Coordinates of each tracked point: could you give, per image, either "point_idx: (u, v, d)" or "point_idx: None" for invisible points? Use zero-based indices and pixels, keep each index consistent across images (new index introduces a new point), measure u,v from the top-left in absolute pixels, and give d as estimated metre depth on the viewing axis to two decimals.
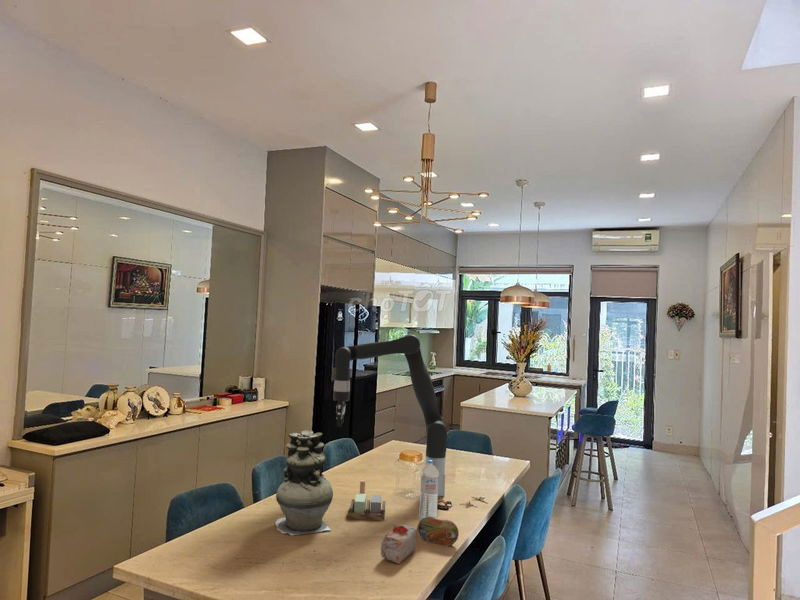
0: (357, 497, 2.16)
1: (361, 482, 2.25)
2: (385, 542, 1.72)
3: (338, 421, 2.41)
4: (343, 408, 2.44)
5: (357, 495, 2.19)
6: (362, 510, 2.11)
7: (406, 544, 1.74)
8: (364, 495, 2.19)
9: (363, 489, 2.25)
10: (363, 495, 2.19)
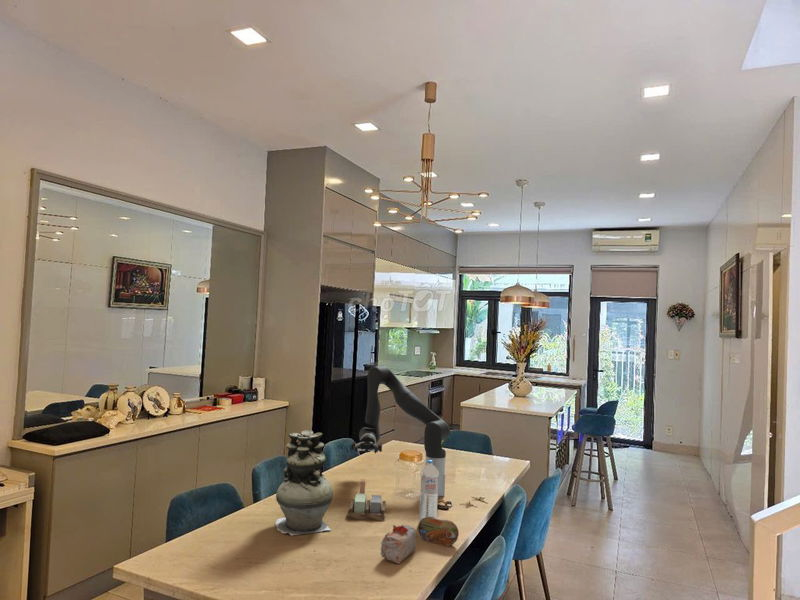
0: (357, 497, 2.16)
1: (361, 482, 2.25)
2: (385, 542, 1.72)
3: None
4: (361, 442, 2.46)
5: (357, 495, 2.19)
6: (362, 510, 2.11)
7: (406, 544, 1.74)
8: (364, 495, 2.19)
9: (363, 489, 2.25)
10: (363, 495, 2.19)
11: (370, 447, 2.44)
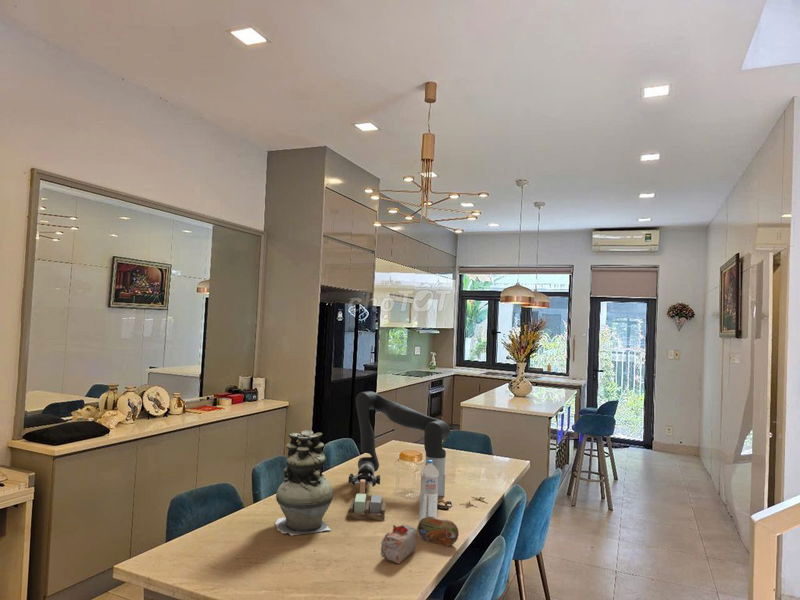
0: (357, 497, 2.16)
1: (361, 482, 2.25)
2: (385, 542, 1.72)
3: (352, 481, 2.36)
4: (359, 474, 2.42)
5: (357, 495, 2.19)
6: (362, 510, 2.11)
7: (406, 544, 1.74)
8: (364, 495, 2.19)
9: (363, 489, 2.25)
10: (363, 495, 2.19)
11: (368, 479, 2.40)
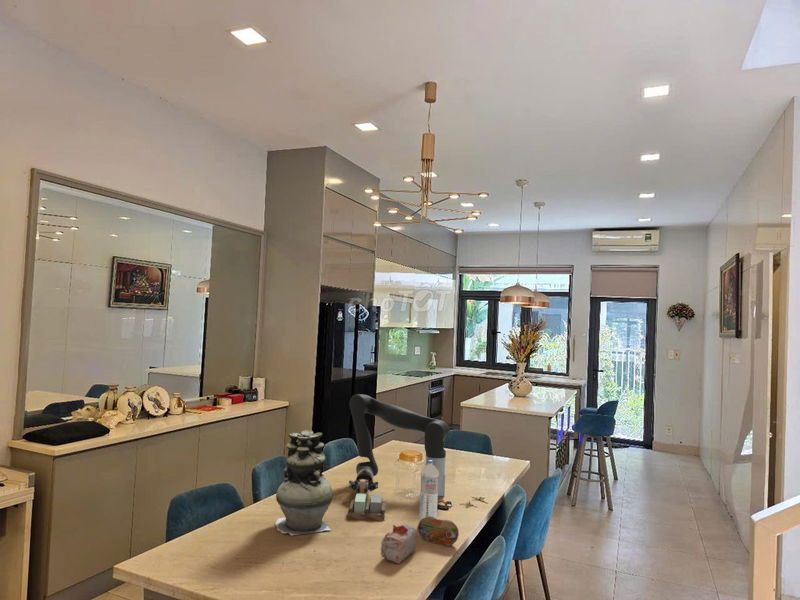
0: (357, 497, 2.16)
1: (361, 482, 2.25)
2: (385, 542, 1.72)
3: (357, 489, 2.26)
4: (359, 481, 2.32)
5: (357, 495, 2.19)
6: (362, 510, 2.11)
7: (406, 544, 1.74)
8: (364, 495, 2.19)
9: (363, 489, 2.25)
10: (363, 495, 2.19)
11: None
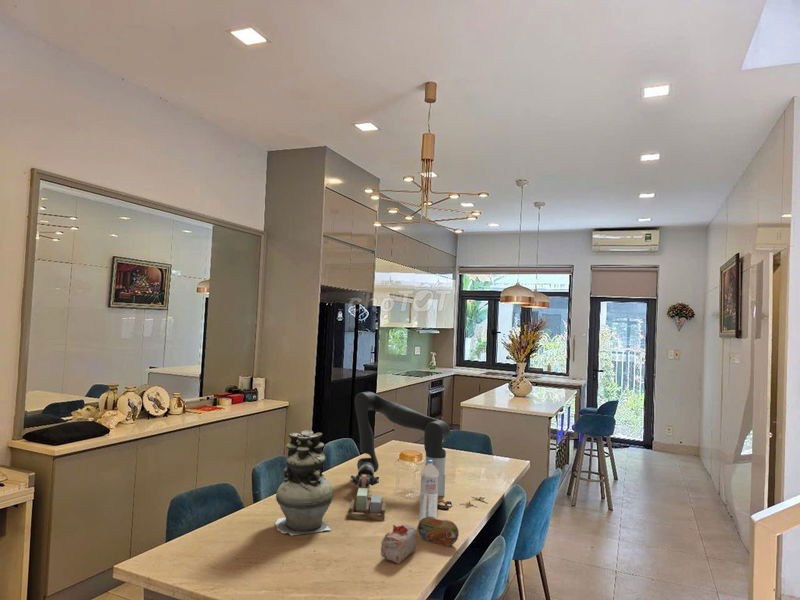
0: (359, 491, 2.24)
1: (363, 477, 2.33)
2: (385, 542, 1.72)
3: None
4: (360, 475, 2.40)
5: (359, 489, 2.26)
6: (364, 504, 2.19)
7: (406, 544, 1.74)
8: (366, 489, 2.27)
9: (365, 484, 2.32)
10: (365, 489, 2.27)
11: None
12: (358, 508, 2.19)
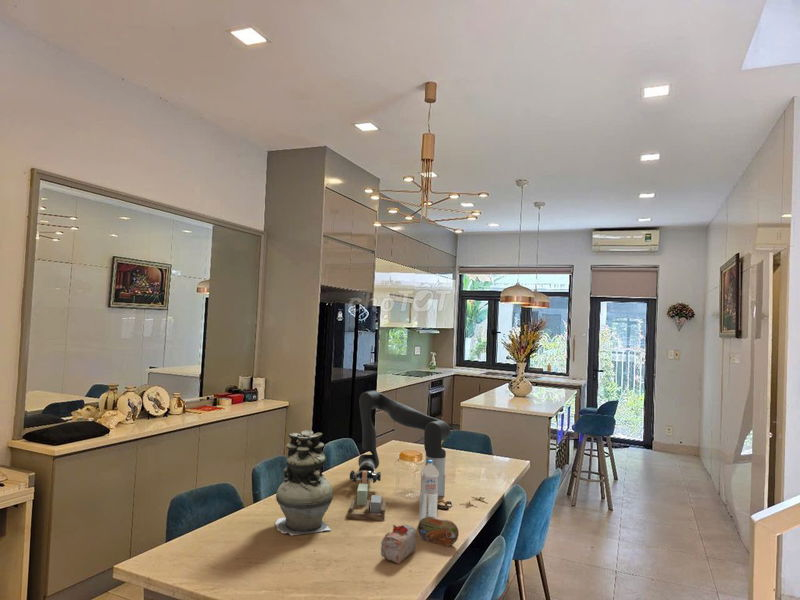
0: (359, 487, 2.30)
1: (363, 473, 2.39)
2: (385, 542, 1.72)
3: (353, 478, 2.42)
4: (360, 471, 2.47)
5: (359, 485, 2.33)
6: (364, 499, 2.25)
7: (406, 544, 1.74)
8: (366, 485, 2.33)
9: (365, 479, 2.39)
10: (365, 485, 2.33)
11: (369, 476, 2.45)
12: (358, 503, 2.25)
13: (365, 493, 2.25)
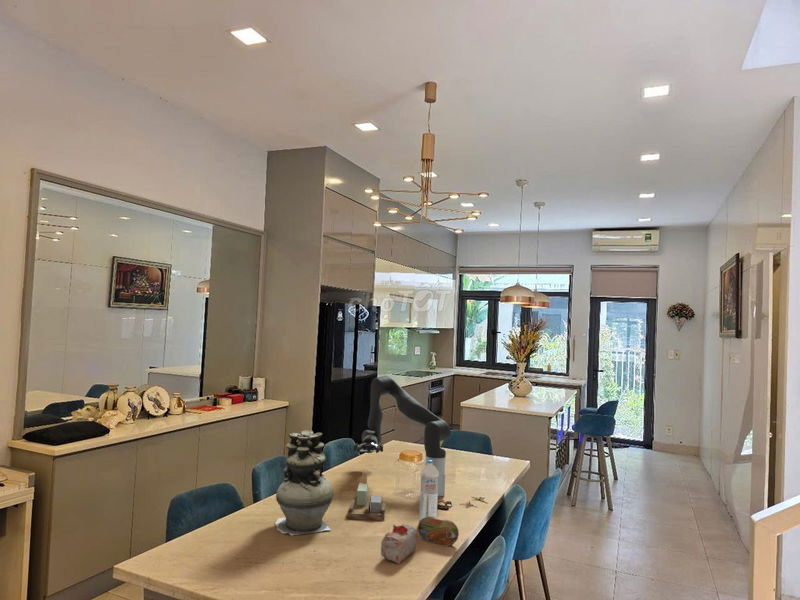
0: (359, 487, 2.30)
1: (363, 473, 2.39)
2: (385, 542, 1.72)
3: (357, 449, 2.54)
4: (363, 443, 2.60)
5: (359, 485, 2.33)
6: (364, 499, 2.25)
7: (406, 544, 1.74)
8: (366, 485, 2.33)
9: (365, 479, 2.39)
10: (365, 485, 2.33)
11: (372, 448, 2.58)
12: (358, 503, 2.25)
13: (365, 493, 2.25)
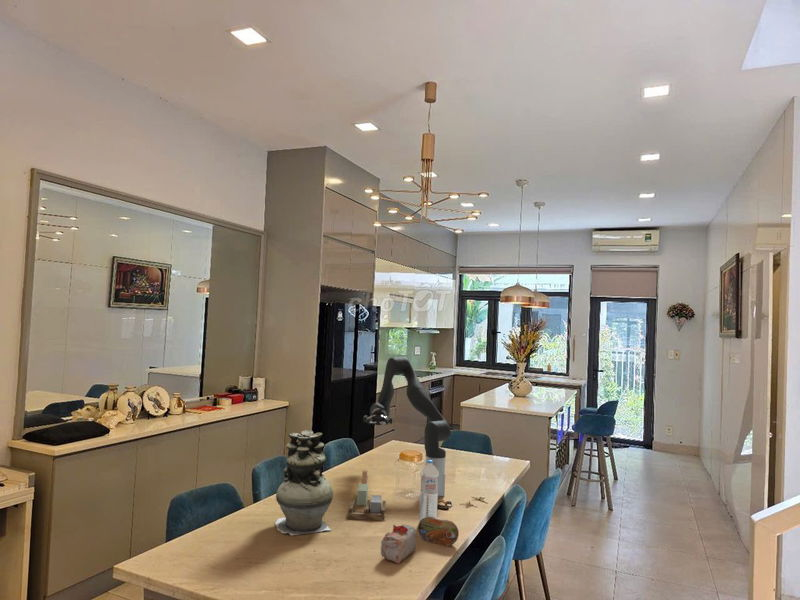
0: (359, 487, 2.30)
1: (363, 473, 2.39)
2: (385, 541, 1.73)
3: None
4: (372, 415, 2.63)
5: (359, 485, 2.33)
6: (364, 499, 2.25)
7: (406, 544, 1.74)
8: (366, 485, 2.33)
9: (365, 479, 2.39)
10: (365, 485, 2.33)
11: (381, 419, 2.61)
12: (358, 503, 2.25)
13: (365, 493, 2.25)
